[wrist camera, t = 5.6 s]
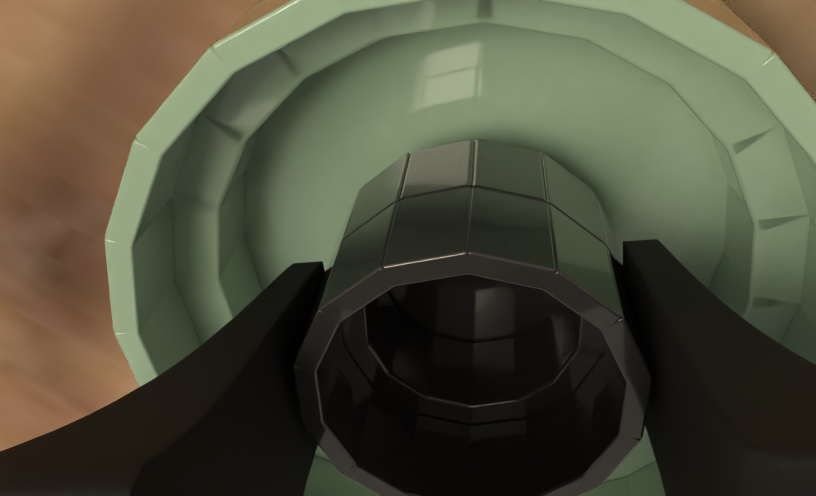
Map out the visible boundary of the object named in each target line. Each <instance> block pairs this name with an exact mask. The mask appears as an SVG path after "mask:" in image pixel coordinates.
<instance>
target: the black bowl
mask: <svg viewBox="0 0 816 496" xmlns="http://www.w3.org/2000/svg"><path fill="white" fill-rule="evenodd" d="M293 373H294V379H295V385H296V391H297V398H298V404H299V410H300V416H301V422H302V424H303V426H304V428H305V429H306V430H307V431H308V433H309V434H310V435H311V437H312V438H313V439H314V440H315V442H316V443H317V444H318V445H319V447H320V448H321V449H322V451H323V452H324V453H325V454H326V456H327V457H328V458H329V459H330V461H331V462H332V463H333V464H334V466H335V467H336V468H337V470H338V471H339V472H341V473H342V474H343V475H344V476H346V477H348V478H350V479H351V480H353V481H355V482H357V483H359V484H360V485H362V486H364V487H366V488H367V489H369V490H371V491H373V492H374V493H376V494H378V495H380V496H580V495H582V494H584V493H587V492H589V491H591V490H593V489H596V488H598V487H599V485H602V484H603V483H604V482H605V480H606V479H607V478H608V477H609V476H610V475H611V474H612V473H613V471H614V470H615V469H616V468H617V467H618V466H619V465H620V464H621V462H622V461H623V460H624V459H625V458H626V457H627V456H628V455H629V454H630V452H631V451H632V450H633V449H634V448H635V447H636V446H637V445H638V443H639V442H640V441H641V438H642V437H643V433H644V427H645V421H646V415H647V409H648V404H649V398H650V392H651V386H652V374H651V370H650V366H649V363H648V359H647V355H646V351H645V347H644V343H643V339H642V336H641V332H640V328H639V324H638V320H637V316H636V312H635V309H634V306H633V302H632V299H631V297H630V292H629V288H628V284H627V280H626V276H625V273H624V269H623V264H622V260H621V256H620V252H619V248H618V244H617V241H616V238H615V236H614V234H613V232H612V230H611V227H610V225H609V223H608V221H607V218H606V216H605V214H604V212H603V210H602V207H601V205H600V203H599V201H598V198H597V196H596V195H595V194H594V193H593V190H592V189H591V188H590V187H588V186H587V185H586V184H584V183H583V182H582V181H580V180H579V179H578V178H577V177H575V176H574V175H573V174H571V173H570V172H569V171H567V170H566V169H565V168H563V167H562V166H561V165H559V164H558V163H557V162H555V161H554V160H553V159H551V158H550V157H549V156H547V155H546V154H545V153H542V154H541V153H539V152H537V151H532V150H527V149H523V148H518V147H513V146H508V145H504V144H499V143H494V142H490V141H485V140H480V139H478V140H476V141H474V140H466V141H461V142H456V143H451V144H446V145H442V146H437V147H432V148H427V149H422V150H418V151H413V152H412V153H409V152H408V153H406V154H404V155H403V156H402V157H400V158H399V159H398V160H397V161H395V162H394V163H393V164H391V165H390V166H389V167H387V168H386V169H385V170H383V171H382V172H381V173H379V174H378V175H377V176H375V177H374V178H373V179H371V180H370V181H369V182H367V183H366V184H365V185H363V186H362V187H361V189H360V190H359V191H358V192H357V195H356V197H355V199H354V201H353V203H352V206H351V208H350V210H349V212H348V215H347V217H346V219H345V221H344V223H343V226H342V228H341V230H340V232H339V235H338V237H337V240H336V242H335V245H334V248H333V251H332V254H331V257H330V260H329V262H328V265H327V268H326V271H325V274H324V277H323V280H322V282H321V285H320V288H319V292H318V294H317V297H316V299H315V302H314V305H313V308H312V311H311V314H310V317H309V319H308V322H307V325H306V328H305V331H304V334H303V336H302V339H301V342H300V345H299V348H298V351H297V354H296V356H295V359H294V362H293Z"/></svg>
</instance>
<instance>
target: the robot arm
mask: <svg viewBox="0 0 816 496" xmlns="http://www.w3.org/2000/svg"><path fill="white" fill-rule="evenodd" d="M623 269H624V273H625V276H626V280H627V284H628V288H629V292H630V297H631V299H632V302H633V306H634V309H635V312H636V316H637V320H638V324H639V328H640V332H641V336H642V339H643V343H644V347H645V351H646V355H647V359H648V363H649V366H650V370H651V374H652V386H651V392H650V398H649V404H648V409H647V415H646V421H645V426H646V430H647V433H648V436H649V439H650V443H651V446H652V449H653V452H654V456H655V459H656V462H657V465H658V469H659V472H660V476H661V480H662V484H663V488H664V492H665V496H816V364H814V363H812V362H810V361H808V360H806V359H805V358H803V357H801V356H799V355H798V354H796V353H794V352H792V351H791V350H789V349H788V348H786V347H784V346H783V345H781V344H780V343H778V342H777V341H775V340H774V339H772V338H770V337H769V336H767V335H766V334H764V333H763V332H761V331H760V330H758V329H757V328H756V327H754V326H753V325H751V324H750V323H749V322H747V321H746V320H745V319H743V318H742V317H741V316H739V315H738V314H737V313H736V312H734V311H733V310H732V309H731V308H729V307H728V306H727V305H726V304H725V303H723V302H722V301H721V300H720V299H719V298H718V297H717V296H715V295H714V294H713V293H712V292H711V291H710V290H709V289H708V288H706V287H705V286H704V285H703V284H702V283H701V282H700V281H699V280H698V279H697V278H696V277H695V276H694V275H693V274H692V273H691V272H690V271H689V270H688V269H686V268H685V267H684V266H683V265H682V264H681V263H680V261H679V260H678V259H677V258H676V257H675V256H674V255H673V254H672V253H671V252H670V251H669V250H668V249H667V248H666V247H665V246H664V245H663V244H662V243H661V242H660V241H659V240H657V239H651V240H636V241H623ZM324 274H325V269H324V265H323V261H318V262H303V263H293V264H292V265H290V266H289V267H288V268H287V269H286V270H285V271H283V272H282V273H281V274H280V275H279V276H278V277H277V278H276V279H275V280H274V281H273V282H272V283H271V284H270V285H268V286H267V287H266V288H265V289H264V290H263V291H262V292H261V293H260V294H259V295H258V296H257V297H256V298H255V299H254V300H253V301H251V302H250V303H249V304H248V305H247V306H246V307H245V308H244V309H243V310H242V311H241V312H240V313H239V314H237V315H236V316H235V317H234V318H233V319H232V320H231V321H229V322H228V323H227V324H226V325H225V326H223V327H222V328H221V329H220V330H219V331H218V332H216V333H215V334H214V335H213V336H212V337H210V338H209V339H208V340H207V341H206V342H204V343H203V344H202V345H201V346H200V347H198V348H197V349H196V350H194V351H193V352H192V353H190V354H189V355H188V356H186V357H185V358H184V359H182V360H181V361H179V362H178V363H176V364H175V365H174V366H172V367H171V368H169V369H168V370H166V371H165V372H163V373H162V374H160V375H159V376H157V377H156V378H154V379H152V380H151V381H149V382H147V383H146V384H144V385H142V386H141V387H139V388H137V389H135V390H134V391H132V392H130V393H129V394H127V395H125V396H124V397H122V398H120V399H118V400H117V401H115V402H113V403H111V404H109V405H107V406H105V407H103V408H101V409H99V410H97V411H95V412H94V413H92V414H90V415H87V416H85V417H83V418H81V419H79V420H77V421H75V422H73V423H70V424H68V425H66V426H64V427H61V428H59V429H57V430H55V431H52V432H50V433H47V434H45V435H42V436H40V437H37V438H34V439H32V440H29V441H27V442H24V443H22V444H19V445H17V446H14V447H12V448H9V449H6V450H3V451H1V452H0V496H303V495H304V491H305V487H306V483H307V479H308V476H309V472H310V469H311V466H312V463H313V459H314V456H315V453H316V449H317V446H318V444H317V443H316V442H315V440H314V439H313V438H312V437H311V435H310V434H309V433H308V431H307V430H306V429H305V428H304V426H303V424H302V422H301V416H300V410H299V404H298V398H297V391H296V385H295V379H294V373H293V362H294V359H295V356H296V354H297V351H298V348H299V345H300V342H301V339H302V336H303V334H304V331H305V328H306V325H307V322H308V319H309V317H310V314H311V311H312V308H313V305H314V302H315V299H316V297H317V294H318V292H319V288H320V285H321V282H322V280H323V277H324Z"/></svg>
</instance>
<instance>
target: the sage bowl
mask: <svg viewBox="0 0 816 496" xmlns="http://www.w3.org/2000/svg"><path fill="white" fill-rule="evenodd" d="M478 139H480V140H485V141H490V142H494V143H499V144H504V145H508V146H513V147H518V148H523V149H527V150H532V151H537V152H539V153H541V154H542V153H545V154H546V155H547V156H549V157H550V158H551V159H553V160H554V161H555V162H557V163H558V164H559V165H561V166H562V167H563V168H565V169H566V170H567V171H569V172H570V173H571V174H573V175H574V176H575V177H577V178H578V179H579V180H580V181H582V182H583V183H584V184H586V185H587V186H588V187H590V188H591V189H592V190H593V193H594V194H595V195H596V196H597V198H598V201H599V203H600V205H601V207H602V210H603V212H604V214H605V216H606V218H607V221H608V223H609V225H610V227H611V230H612V232H613V234H614V236H615V238H616V241H617V244H618V248H619V252H620V256H621V260H622V264H623V241H636V240H651V239H657V240H659V241H660V242H661V243H662V244H663V245H664V246H665V247H666V248H667V249H668V250H669V251H670V252H671V253H672V254H673V255H674V256H675V257H676V258H677V259H678V260H679V261H680V263H681V264H682V265H683V266H684V267H685V268H686V269H688V270H689V271H690V272H691V273H692V274H693V275H694V276H695V277H696V278H697V279H698V280H699V281H700V282H701V283H702V284H703V285H704V286H705V287H706V288H708V289H709V290H710V291H711V292H712V293H713V294H714V295H715V296H717V297H718V298H719V299H720V300H721V301H722V302H723V303H725V304H726V305H727V306H728V307H729V308H731V309H732V310H733V311H734V312H736V313H737V314H738V315H739V316H741V317H742V318H743V319H745V320H746V321H747V322H749V323H750V324H751V325H753V326H754V327H756V328H757V329H758V330H760V331H761V332H763V333H764V334H766V335H767V336H769V337H770V338H772V339H774V340H775V341H777V342H778V343H780V344H781V345H783V346H784V347H786V348H788V349H789V350H791V351H792V352H794V353H796V354H798V355H799V356H801V357H803V358H805V359H806V360H808V361H810V362H812V363H814V364H816V102H815V101H814V99H813V98H812V97H811V96H810V94H809V93H808V92H807V91H806V89H805V88H804V87H803V86H802V84H801V83H800V82H799V81H798V79H797V78H796V77H795V76H794V74H793V73H792V72H791V71H790V69H789V68H788V67H787V66H786V64H785V63H784V62H783V61H782V59H781V58H780V57H779V56H778V54H777V53H776V52H775V51H774V50H773V49H771V48H770V47H769V46H768V45H767V44H766V43H765V42H764V41H763V40H762V39H761V38H760V37H759V36H758V35H757V34H756V33H755V32H754V31H753V30H752V29H751V28H750V27H749V26H748V25H747V24H746V23H745V22H744V21H743V20H742V19H740V18H739V17H738V16H737V15H736V14H735V13H734V12H733V11H732V10H731V9H730V8H729V7H728V6H727V5H726V4H725V3H724V2H723V1H722V0H260V1H259V2H258V3H256V4H255V5H254V6H253V7H252V8H251V9H250V10H249V11H248V12H247V13H246V14H245V15H244V16H242V17H241V18H240V19H239V20H238V21H237V22H236V23H235V24H234V25H233V26H232V27H230V28H229V29H228V30H227V31H226V32H225V33H224V34H223V35H222V36H221V37H220V38H219V39H217V40H216V41H215V42H214V43H213V44H212V45H211V46H210V47H209V48H208V49H207V50H206V51H205V52H204V54H203V55H202V56H201V57H200V59H199V60H198V61H197V62H196V63H195V65H194V66H193V67H192V68H191V69H190V71H189V72H188V73H187V74H186V76H185V77H184V78H183V79H182V80H181V82H180V83H179V84H178V85H177V86H176V88H175V89H174V90H173V91H172V92H171V94H170V95H169V96H168V97H167V99H166V100H165V101H164V102H163V103H162V105H161V106H160V107H159V108H158V109H157V111H156V112H155V113H154V114H153V115H152V117H151V118H150V119H149V120H148V122H147V123H146V124H145V125H144V126H143V128H142V129H141V130H140V131H139V132H138V134H137V136H136V138H135V139H134V140H133V143H132V147H131V150H130V153H129V157H128V160H127V163H126V167H125V170H124V173H123V177H122V180H121V183H120V186H119V190H118V193H117V196H116V200H115V203H114V206H113V210H112V213H111V216H110V220H109V223H108V226H107V230H106V233H105V250H106V261H107V271H108V281H109V292H110V302H111V312H112V323H113V331H114V332H115V336H116V338H117V340H118V343H119V345H120V347H121V349H122V351H123V353H124V355H125V357H126V359H127V362H128V364H129V366H130V368H131V370H132V372H133V374H134V376H135V378H136V380H137V383H138V385H139V387H141V386H142V385H144V384H146V383H147V382H149V381H151V380H152V379H154V378H156V377H157V376H159V375H160V374H162V373H163V372H165V371H166V370H168V369H169V368H171V367H172V366H174V365H175V364H176V363H178V362H179V361H181V360H182V359H184V358H185V357H186V356H188V355H189V354H190V353H192V352H193V351H194V350H196V349H197V348H198V347H200V346H201V345H202V344H203V343H204V342H206V341H207V340H208V339H209V338H210V337H212V336H213V335H214V334H215V333H216V332H218V331H219V330H220V329H221V328H222V327H223V326H225V325H226V324H227V323H228V322H229V321H231V320H232V319H233V318H234V317H235V316H236V315H237V314H239V313H240V312H241V311H242V310H243V309H244V308H245V307H246V306H247V305H248V304H249V303H250V302H251V301H253V300H254V299H255V298H256V297H257V296H258V295H259V294H260V293H261V292H262V291H263V290H264V289H265V288H266V287H267V286H268V285H270V284H271V283H272V282H273V281H274V280H275V279H276V278H277V277H278V276H279V275H280V274H281V273H282V272H283V271H285V270H286V269H287V268H288V267H289V266H290V265H292V264H293V263H303V262H318V261H323V265H324V269H325V271H326V268H327V265H328V262H329V260H330V257H331V254H332V251H333V248H334V245H335V242H336V240H337V237H338V235H339V232H340V230H341V228H342V226H343V223H344V221H345V219H346V217H347V215H348V212H349V210H350V208H351V206H352V203H353V201H354V199H355V197H356V195H357V192H358V191H359V190H360V189H361V187H362V186H363V185H365V184H366V183H367V182H369V181H370V180H371V179H373V178H374V177H375V176H377V175H378V174H379V173H381V172H382V171H383V170H385V169H386V168H387V167H389V166H390V165H391V164H393V163H394V162H395V161H397V160H398V159H399V158H400V157H402V156H403V155H404V154H406V153H408V152H409V153H412V152H413V151H418V150H422V149H427V148H432V147H437V146H442V145H446V144H451V143H456V142H461V141H466V140H474V141H476V140H478ZM303 496H380V495H378V494H376V493H374V492H373V491H371V490H369V489H367V488H366V487H364V486H362V485H360V484H359V483H357V482H355V481H353V480H351V479H350V478H348V477H346V476H344V475H343V474H342V473H341V472H339V471H338V470H337V468H336V467H335V466H334V464H333V463H332V462H331V461H330V459H329V458H328V457H327V456H326V454H325V453H324V452H323V451H322V449H321V448H320V447H319V445H318V446H317V449H316V453H315V456H314V459H313V463H312V466H311V469H310V472H309V476H308V479H307V483H306V487H305V491H304V495H303ZM580 496H665V492H664V488H663V484H662V480H661V476H660V472H659V469H658V465H657V462H656V459H655V456H654V452H653V449H652V446H651V443H650V439H649V436H648V433H647V430H646V426H645V427H644V433H643V437H642V438H641V441H640V442H639V443H638V445H637V446H636V447H635V448H634V449H633V450H632V451H631V452H630V454H629V455H628V456H627V457H626V458H625V459H624V460H623V461H622V462H621V464H620V465H619V466H618V467H617V468H616V469H615V470H614V471H613V473H612V474H611V475H610V476H609V477H608V478H607V479H606V480H605V482H604V483H603V484H602V485H599V487H598V488H596V489H593V490H591V491H589V492H587V493H584V494H582V495H580Z"/></svg>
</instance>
